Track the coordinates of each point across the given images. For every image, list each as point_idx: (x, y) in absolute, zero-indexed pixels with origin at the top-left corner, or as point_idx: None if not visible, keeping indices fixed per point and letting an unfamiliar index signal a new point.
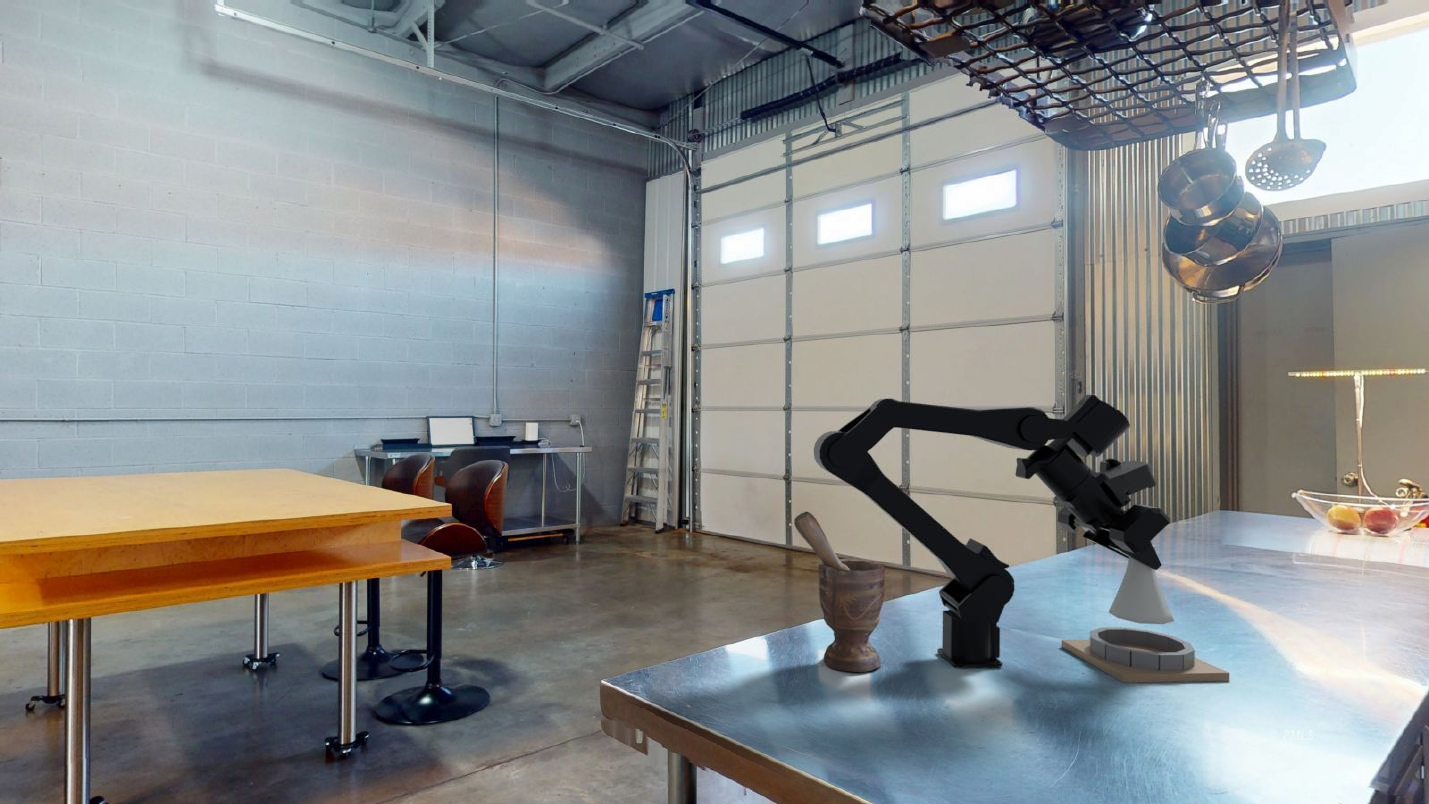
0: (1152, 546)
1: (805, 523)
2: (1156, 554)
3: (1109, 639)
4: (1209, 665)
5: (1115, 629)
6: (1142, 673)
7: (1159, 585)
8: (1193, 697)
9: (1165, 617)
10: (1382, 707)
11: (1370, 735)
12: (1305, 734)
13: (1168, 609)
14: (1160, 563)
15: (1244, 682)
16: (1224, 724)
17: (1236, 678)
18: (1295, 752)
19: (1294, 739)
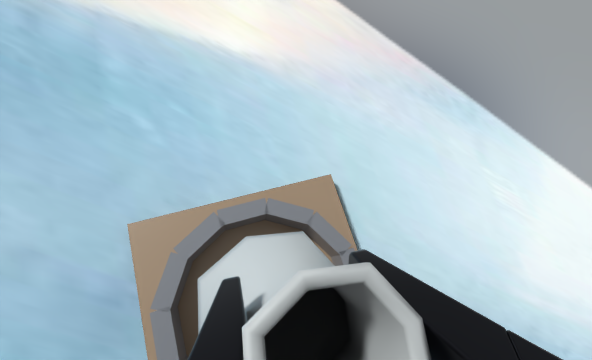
0: (499, 328)
1: None
2: (425, 285)
3: (184, 352)
4: (297, 188)
5: (176, 340)
6: None
7: (313, 257)
8: (424, 270)
9: (328, 260)
10: (373, 46)
11: (472, 114)
12: (501, 183)
13: (310, 242)
14: (371, 255)
15: (326, 158)
16: (514, 270)
17: (309, 161)
18: (562, 224)
19: (523, 204)
